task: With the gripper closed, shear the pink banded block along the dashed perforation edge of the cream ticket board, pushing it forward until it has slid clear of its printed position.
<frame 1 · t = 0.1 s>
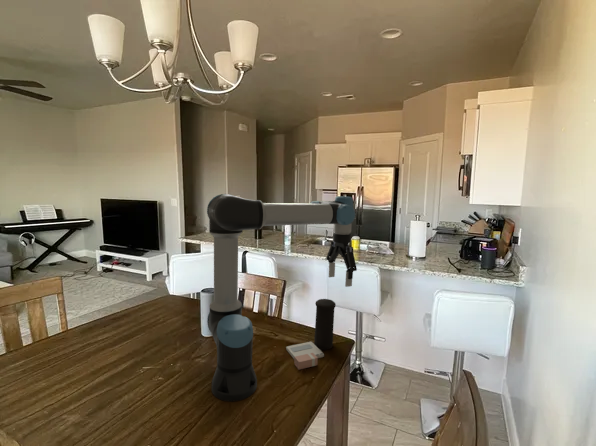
hand: (339, 281, 139), 28 cm above the table, fingers open, 13 cm apart
pink banded block: (305, 360, 124), point 2 cm above the table, slide at 0.0 cm
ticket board: (304, 352, 132), on the table
container: (323, 345, 139), on the table
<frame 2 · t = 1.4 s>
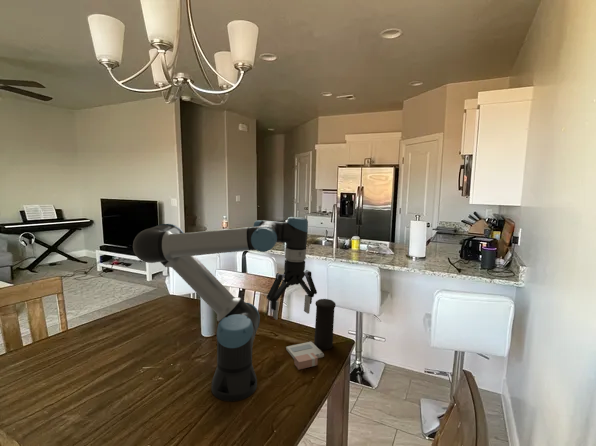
hand: (291, 315, 120), 21 cm above the table, fingers open, 13 cm apart
nothing on the table moved.
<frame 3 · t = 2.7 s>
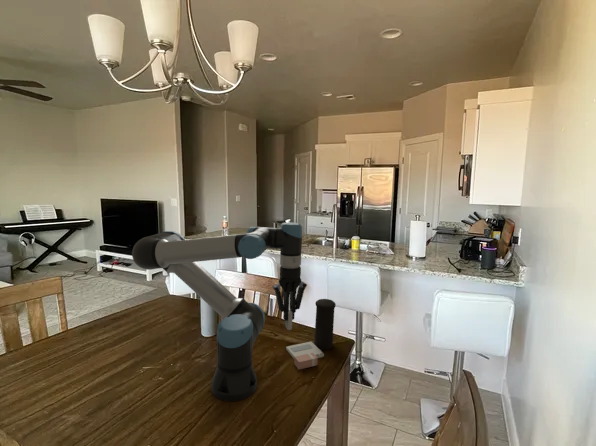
hand: (288, 328, 118), 16 cm above the table, fingers closed
nothing on the table moved.
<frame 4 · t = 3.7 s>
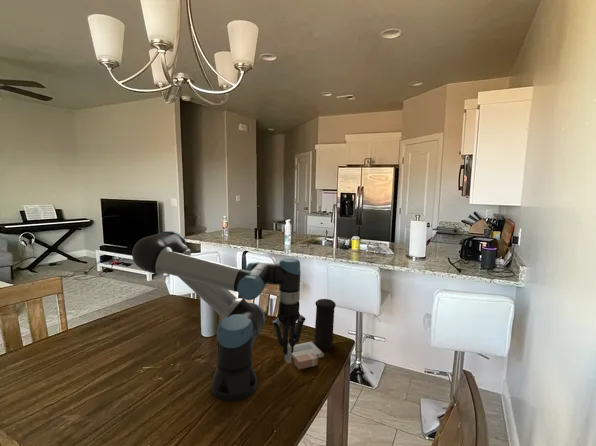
hand: (287, 361, 120), 3 cm above the table, fingers closed
nothing on the table moved.
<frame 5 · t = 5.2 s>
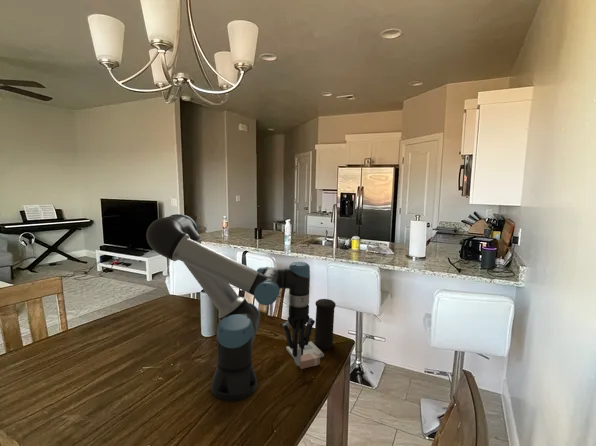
hand: (297, 363, 122), 2 cm above the table, fingers closed
pink banded block: (308, 360, 124), point 2 cm above the table, slide at 1.0 cm, touching gripper
everything else where it was.
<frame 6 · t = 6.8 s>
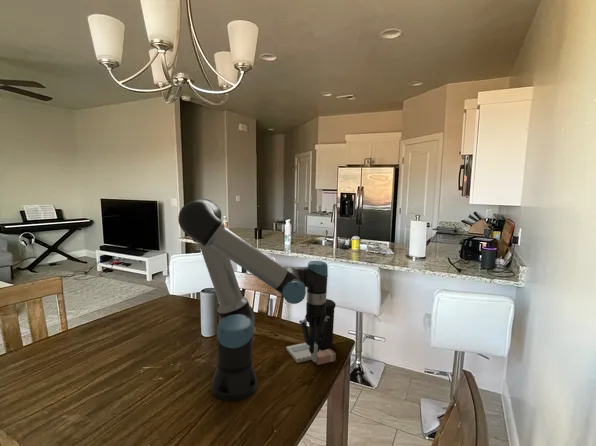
hand: (313, 359, 125), 1 cm above the table, fingers closed
pink banded block: (324, 356, 127), point 2 cm above the table, slide at 8.2 cm, touching gripper
everything else where it was.
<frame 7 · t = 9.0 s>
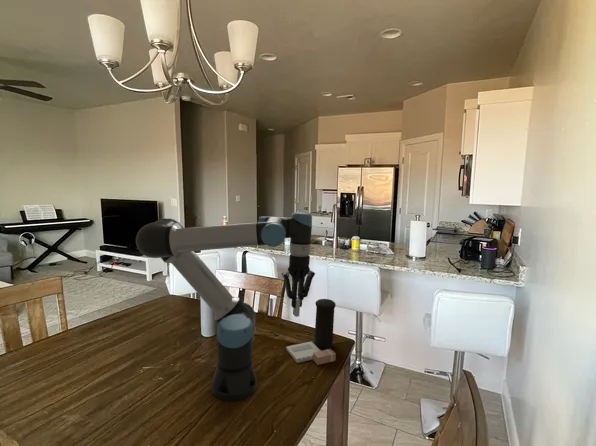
hand: (296, 315, 121), 20 cm above the table, fingers closed
pink banded block: (324, 356, 127), point 2 cm above the table, slide at 8.2 cm
everything else where it was.
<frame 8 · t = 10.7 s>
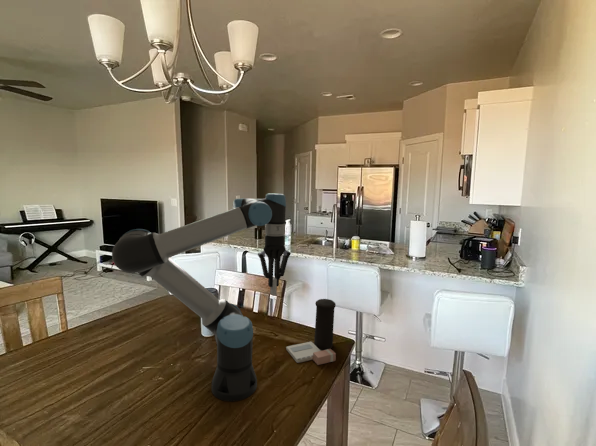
hand: (273, 294, 124), 26 cm above the table, fingers closed
nothing on the table moved.
at the end: pink banded block slide at 8.2 cm; pink banded block moved 8.2 cm from its start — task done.
